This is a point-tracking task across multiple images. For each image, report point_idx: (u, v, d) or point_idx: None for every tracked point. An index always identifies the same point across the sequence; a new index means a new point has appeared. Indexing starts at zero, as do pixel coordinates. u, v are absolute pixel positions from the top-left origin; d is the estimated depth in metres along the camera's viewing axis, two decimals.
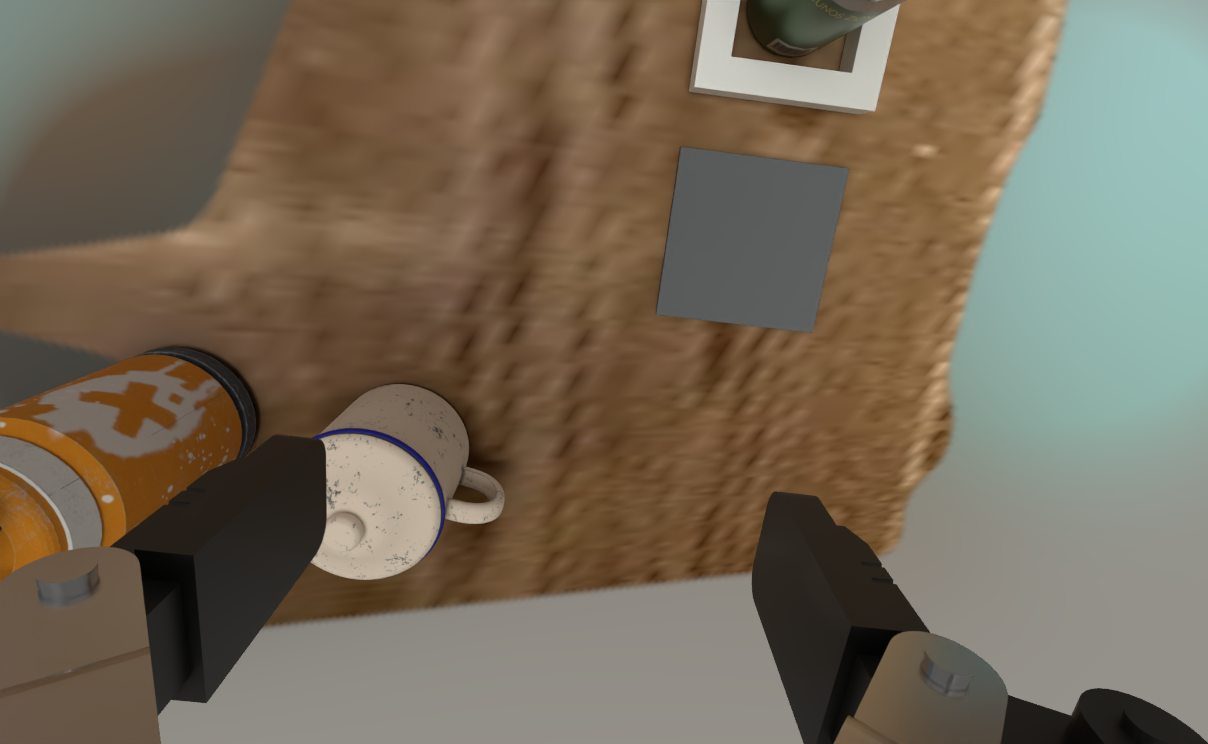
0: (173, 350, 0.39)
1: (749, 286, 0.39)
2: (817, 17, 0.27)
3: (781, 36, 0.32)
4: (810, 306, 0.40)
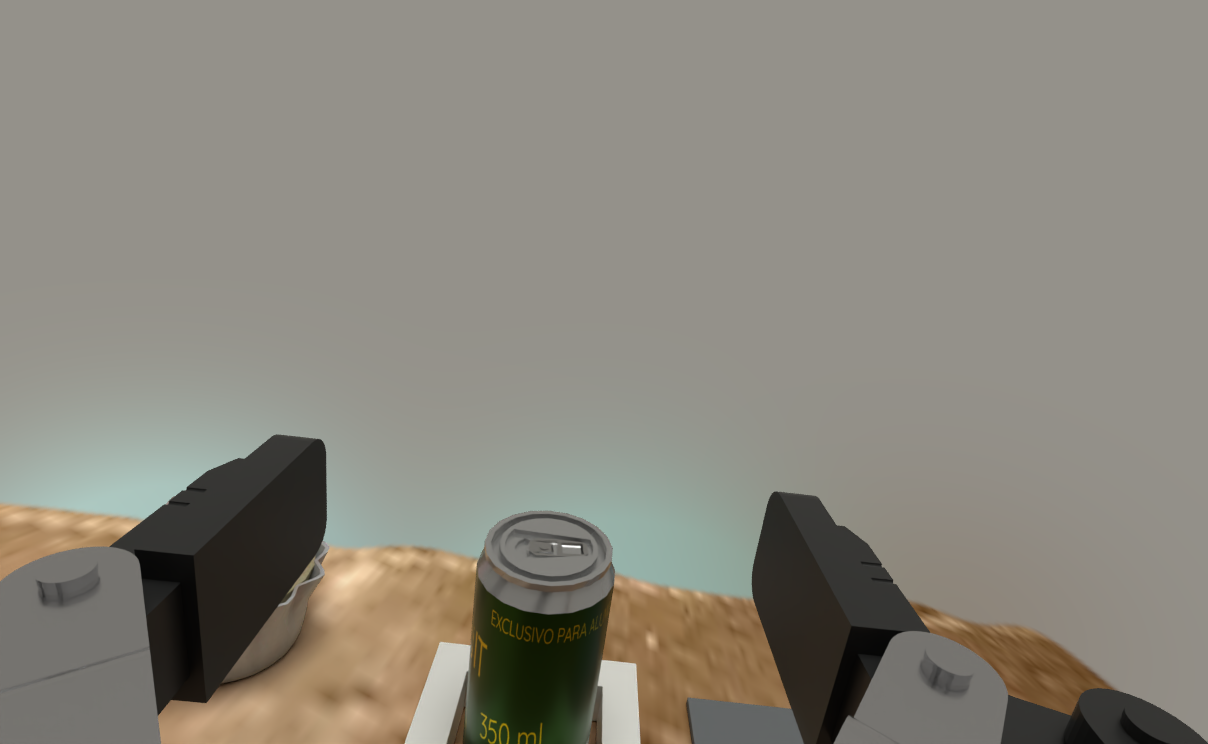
0: None
1: None
2: (601, 641, 0.25)
3: (584, 738, 0.26)
4: None
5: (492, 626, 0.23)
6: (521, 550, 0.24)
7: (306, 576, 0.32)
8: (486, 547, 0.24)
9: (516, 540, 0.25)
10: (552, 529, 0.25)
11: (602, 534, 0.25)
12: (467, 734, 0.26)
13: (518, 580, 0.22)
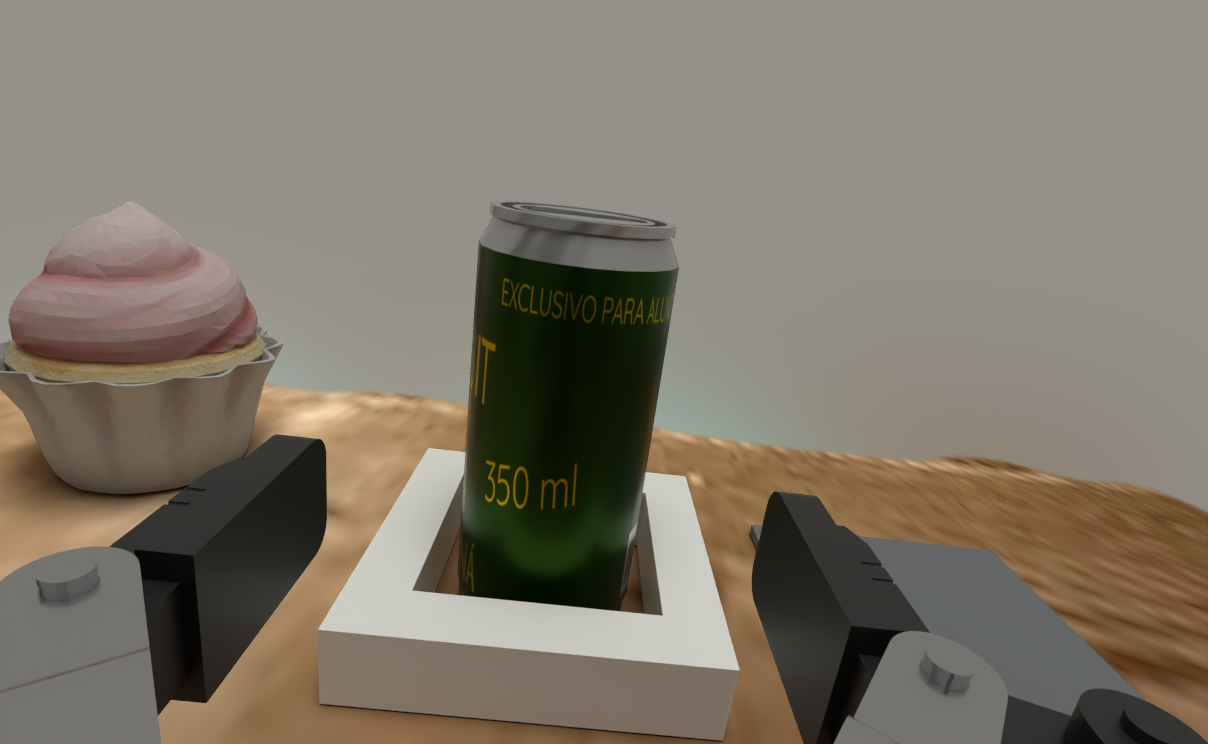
0: None
1: (1000, 620, 0.21)
2: (660, 358, 0.17)
3: (633, 514, 0.18)
4: (959, 553, 0.25)
5: (504, 307, 0.15)
6: None
7: (250, 361, 0.24)
8: (493, 204, 0.16)
9: None
10: (585, 211, 0.18)
11: (656, 220, 0.18)
12: (466, 510, 0.18)
13: (543, 218, 0.15)
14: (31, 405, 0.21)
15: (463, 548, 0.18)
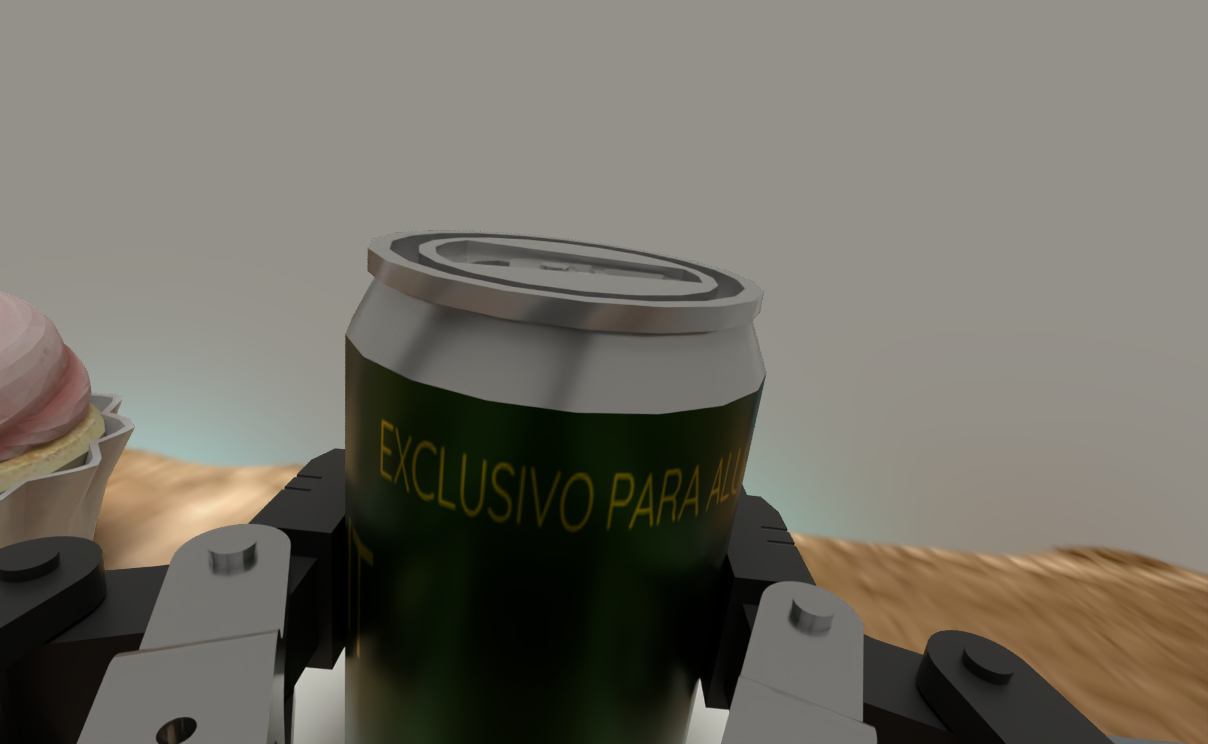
0: None
1: None
2: (725, 553, 0.08)
3: None
4: None
5: (386, 482, 0.07)
6: None
7: (59, 468, 0.15)
8: (373, 244, 0.07)
9: (475, 259, 0.08)
10: (575, 251, 0.09)
11: (712, 267, 0.09)
12: None
13: (465, 289, 0.06)
14: None
15: None
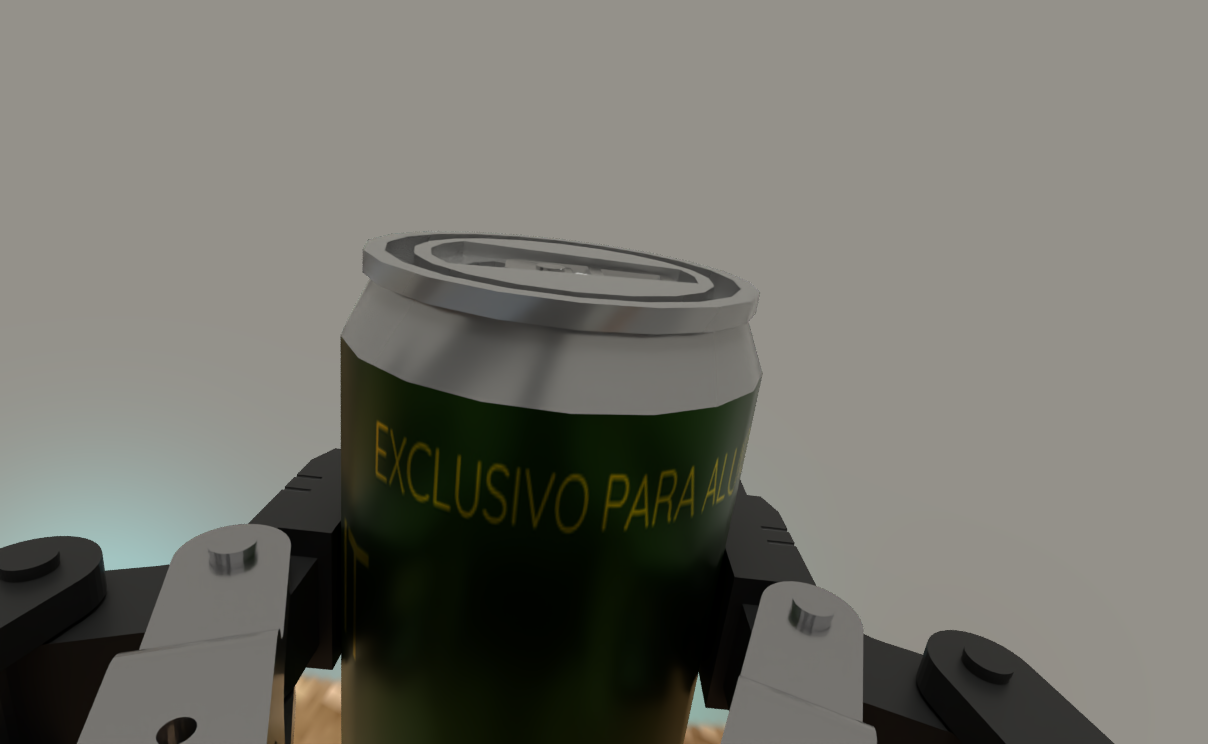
0: None
1: None
2: (721, 554, 0.08)
3: None
4: None
5: (380, 485, 0.07)
6: None
7: None
8: (368, 245, 0.07)
9: (470, 260, 0.08)
10: (571, 252, 0.09)
11: (709, 268, 0.09)
12: None
13: (459, 290, 0.06)
14: None
15: None
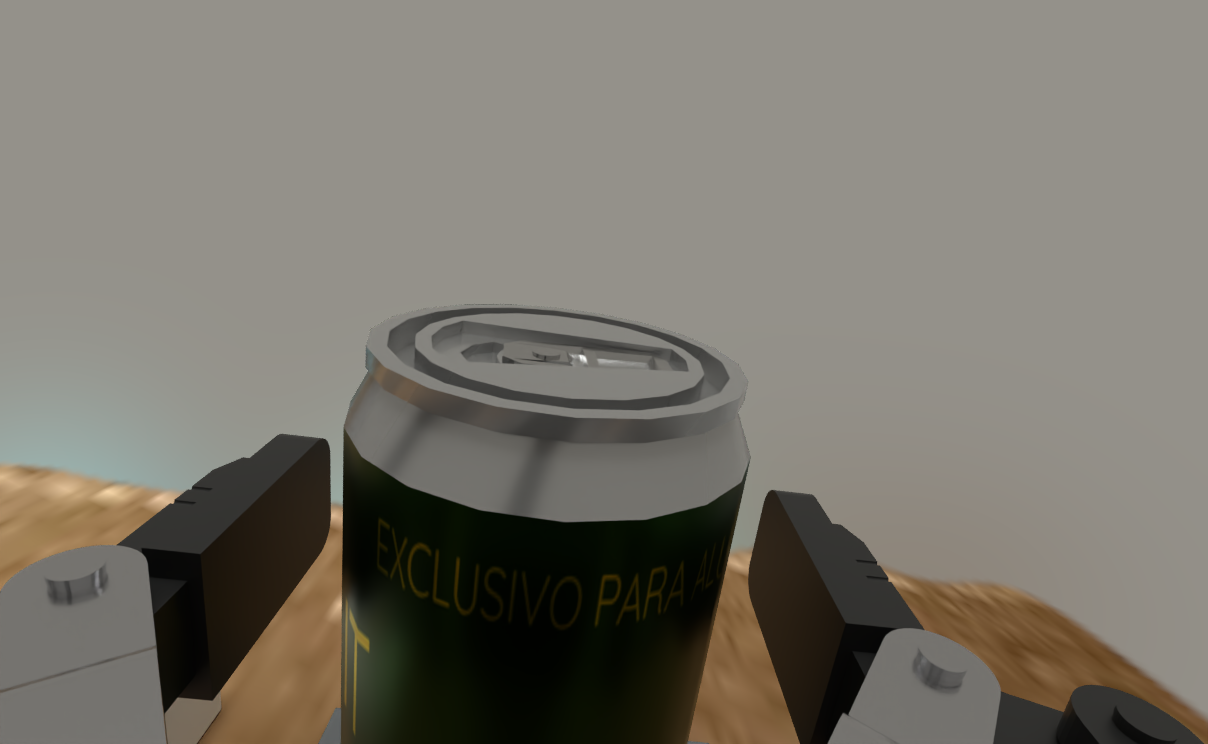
0: None
1: None
2: (711, 628, 0.09)
3: None
4: None
5: (382, 576, 0.07)
6: (482, 363, 0.08)
7: None
8: (371, 338, 0.08)
9: (469, 342, 0.09)
10: (567, 329, 0.09)
11: (700, 344, 0.10)
12: None
13: (459, 402, 0.06)
14: None
15: None
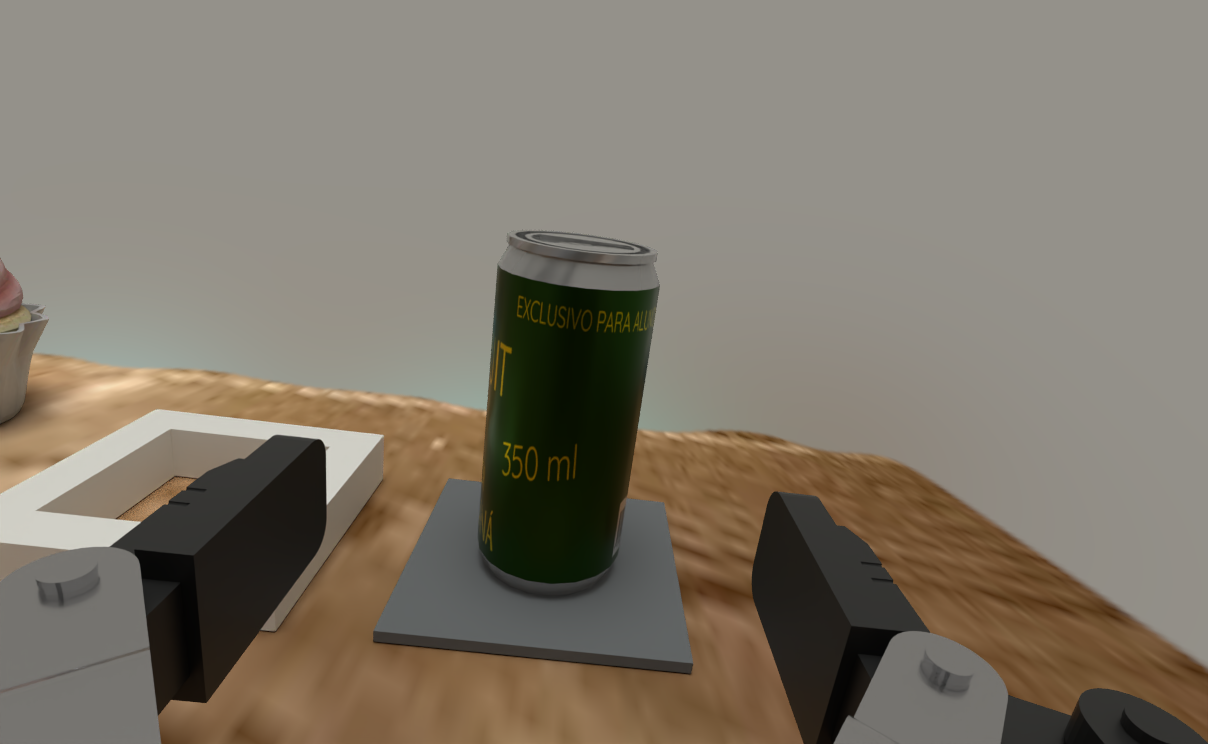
0: None
1: None
2: (645, 359, 0.21)
3: (623, 487, 0.22)
4: (629, 504, 0.29)
5: (519, 318, 0.19)
6: None
7: None
8: (509, 235, 0.20)
9: (544, 241, 0.21)
10: (584, 238, 0.22)
11: (642, 245, 0.22)
12: (486, 484, 0.22)
13: (550, 249, 0.18)
14: None
15: (483, 515, 0.22)
